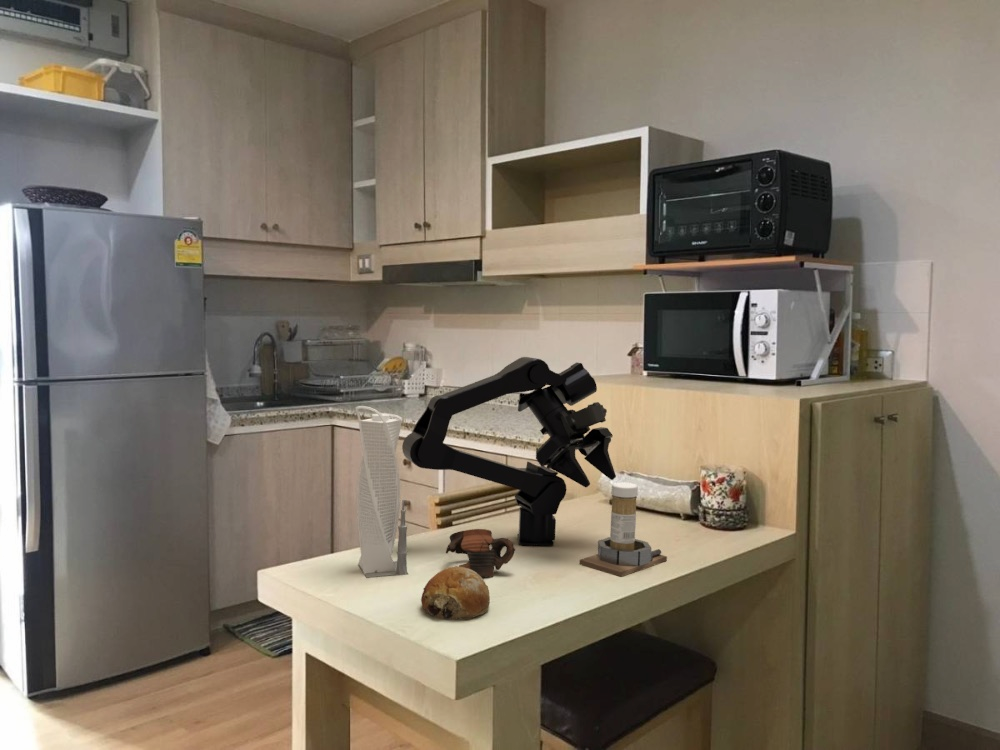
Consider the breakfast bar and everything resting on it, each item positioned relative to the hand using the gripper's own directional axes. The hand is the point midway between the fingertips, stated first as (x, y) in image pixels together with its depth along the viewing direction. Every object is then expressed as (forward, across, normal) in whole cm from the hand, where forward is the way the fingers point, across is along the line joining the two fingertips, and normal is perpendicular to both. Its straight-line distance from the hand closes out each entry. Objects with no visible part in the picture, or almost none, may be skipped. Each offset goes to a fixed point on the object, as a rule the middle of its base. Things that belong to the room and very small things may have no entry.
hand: (601, 482), depth 149 cm
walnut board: (+14, -1, +6) cm, 15 cm away
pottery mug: (+3, -22, +17) cm, 28 cm away
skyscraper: (-6, -33, +26) cm, 43 cm away
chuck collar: (+13, +1, +5) cm, 14 cm away
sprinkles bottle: (+13, -1, +5) cm, 14 cm away
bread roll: (+9, -38, +11) cm, 41 cm away
